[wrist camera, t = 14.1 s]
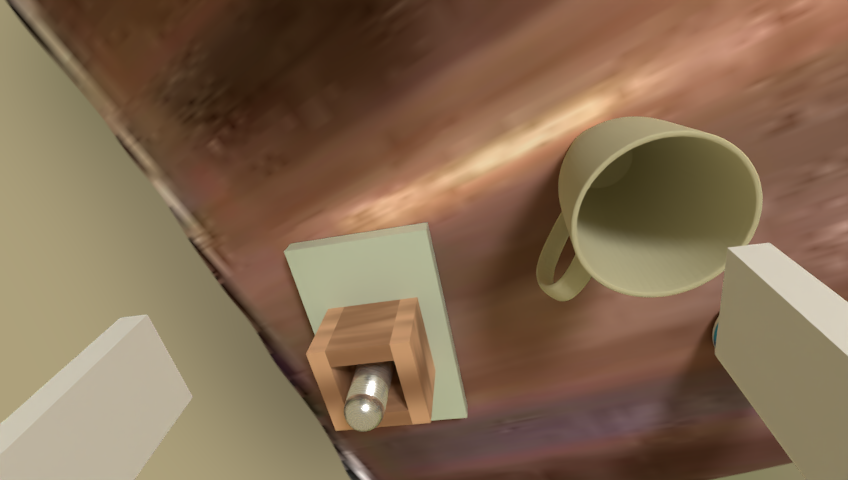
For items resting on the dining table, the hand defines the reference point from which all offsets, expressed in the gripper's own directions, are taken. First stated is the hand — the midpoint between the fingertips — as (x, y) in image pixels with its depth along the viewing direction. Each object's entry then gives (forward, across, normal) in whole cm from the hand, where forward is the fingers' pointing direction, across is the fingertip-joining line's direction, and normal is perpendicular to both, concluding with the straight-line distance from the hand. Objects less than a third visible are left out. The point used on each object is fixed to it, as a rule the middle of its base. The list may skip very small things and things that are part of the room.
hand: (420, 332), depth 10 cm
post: (+23, -9, -18) cm, 31 cm away
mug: (+25, +10, -6) cm, 28 cm away
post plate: (+25, -9, -18) cm, 32 cm away
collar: (+23, -9, -18) cm, 31 cm away
